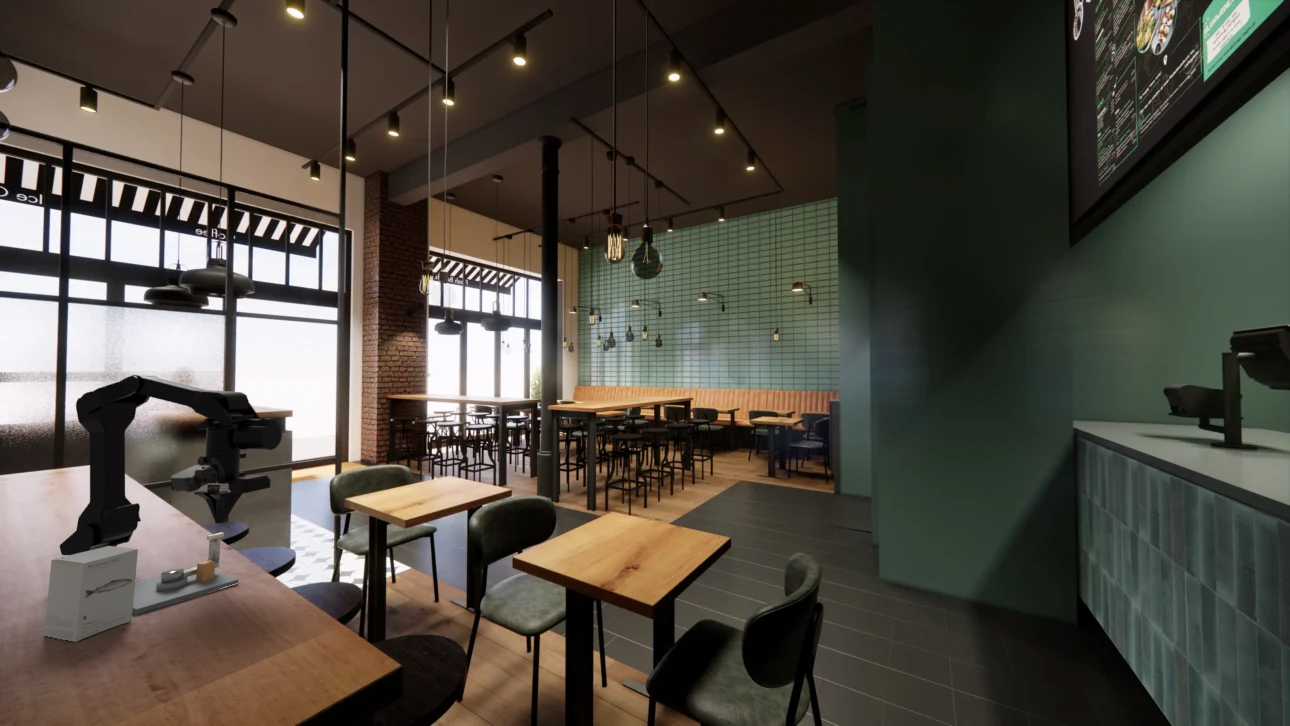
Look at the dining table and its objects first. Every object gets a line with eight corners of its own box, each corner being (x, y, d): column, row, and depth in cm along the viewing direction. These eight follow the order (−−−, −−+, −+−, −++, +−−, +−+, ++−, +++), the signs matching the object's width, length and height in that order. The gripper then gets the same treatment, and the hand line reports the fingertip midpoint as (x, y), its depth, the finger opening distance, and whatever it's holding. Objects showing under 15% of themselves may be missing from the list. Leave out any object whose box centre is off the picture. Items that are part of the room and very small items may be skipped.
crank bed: (102, 595, 91) (104, 571, 91) (202, 569, 104) (203, 549, 104) (135, 614, 84) (137, 589, 84) (237, 584, 97) (239, 562, 97)
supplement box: (75, 643, 74) (82, 563, 75) (41, 637, 76) (49, 558, 77) (133, 621, 82) (139, 548, 82) (102, 616, 83) (108, 544, 84)
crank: (167, 584, 91) (170, 548, 92) (156, 582, 92) (159, 546, 92) (225, 566, 101) (227, 533, 101) (215, 564, 102) (217, 531, 102)
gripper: (142, 454, 94) (137, 532, 93) (221, 456, 91) (216, 537, 90) (202, 447, 105) (198, 517, 104) (274, 449, 102) (270, 521, 101)
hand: (219, 523), depth 100 cm, fingers closed
